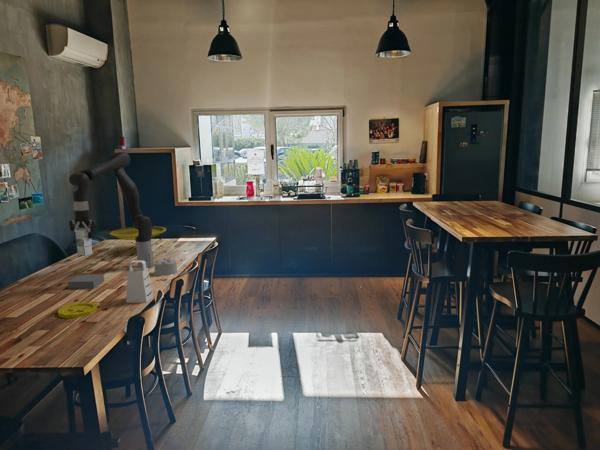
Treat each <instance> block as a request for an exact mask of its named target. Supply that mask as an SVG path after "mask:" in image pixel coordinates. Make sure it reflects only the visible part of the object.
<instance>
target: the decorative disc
mask: <svg viewBox="0 0 600 450" xmlns="http://www.w3.org/2000/svg"><path fill="white" fill-rule="evenodd" d="M97 311H98V304H97V303H94V302H91V301H87V302H75V303H72V304H66V305H63V306H62V307H60V308H58V311H57V315H58V317H59V318H64V319H78V318H81V317H82V318H83V317H86V316H87V317H88V316H91V315H92V314H94V313H96V312H97Z"/></svg>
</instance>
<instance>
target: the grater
mask: <svg viewBox="0 0 600 450" xmlns="http://www.w3.org/2000/svg"><path fill="white" fill-rule="evenodd" d="M138 262H142V264H143V268H138V267H133V265H132V264H133V263H138ZM150 278H151V277H150V273H149V268H146V262H145V261H144V260H137V259H136V260H135V259H134V260H131V261H130V262H129V263H128V271H127V279H126V281H127V282H126V297H125V298H126V300H125V302H126V303H127V304H128V303H130V304H131V303H135V304H137V303H145V304H146V303H148V302H149V301H150V300H151V299H152V298H153V297H154V292H153V291H154V290H153V286H152V281H151V279H150Z"/></svg>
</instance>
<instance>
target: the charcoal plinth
mask: <svg viewBox="0 0 600 450" xmlns="http://www.w3.org/2000/svg"><path fill="white" fill-rule="evenodd" d="M104 282H105V274H103V273H102V274H100V273H99V274H96V273H95V274H78V275H77V276H75V277H74V278H72V279H70V280H68V281H67V285H68V290H69V289H71V290H73V289H74V290H77V289H82V290H84V289H85V290H86V289H87V290H88V289H95V288H97V287H98V286H100V285H101V284H102V283H104Z"/></svg>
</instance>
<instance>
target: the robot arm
mask: <svg viewBox="0 0 600 450" xmlns="http://www.w3.org/2000/svg"><path fill="white" fill-rule="evenodd" d="M130 163H131V157H130V154H129V153H127V152H124V151H119V152H112V153H110V154H109V155H108V160H106V161H103V162H100V163H97V164H94V165H92V166H90V167H88V168H86V169H82V170H79V171H76V172H73V173H72V174H70V176H69V178H68V181H69V184H71V185H72V186H75V187H77V190H75V191H73V212H74V219H70V220H69V222H68V223H69V229H70V232H73V234H74V238H75V239H76V232H75V230H78V229H81V228H84V229H87V230H88V236H89V239H91V240H92V238H93V232H94V231H96V224H97V223H96V220H95V219H93V220H92V219H90V209H89V207H90V206H89V201H88V200H89V199H88V191H89V188H90V181H93V180H96V179H98V178H100V177H102V176H104V175H107V174H108V173H110V172H112V171H113V173H114V175H115V178H116V180H117V183H118V186H119V187H120V190H121V194H122V196H123V199H124V201H125V204H126V206H127V209H128V212H129V213H128V214H129V216H130V220H131V224H132V227H134V228H135V229H136V230H137V229H138V233H139V235H138V236H137V237H136V241H135V248H137V253H136V257H137V259H136V260H144V261H145V262H146V268H148V269H149V268H152V267H154V263H155V260H154V259H155V258H154V251H153V250H152V249H153V248H152V238H151V236H152V228H153V227H152V220H151V218H150V217H148V216H146V215H143V213H142V210H141V208H140V193H139V191H138V187H137V185H136V183H135V182H134V180H132V178H131V177H130V176H129V175H128V174H127V173H126V171H125V167H128V166H129V165H130ZM75 224H76V225H75ZM134 228H133V229H134ZM137 268H143V264H142V262H137Z"/></svg>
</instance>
